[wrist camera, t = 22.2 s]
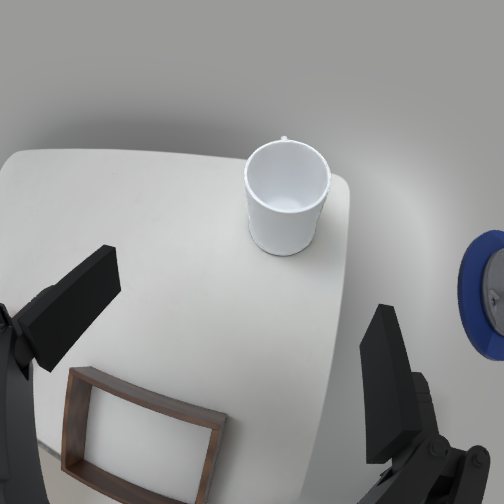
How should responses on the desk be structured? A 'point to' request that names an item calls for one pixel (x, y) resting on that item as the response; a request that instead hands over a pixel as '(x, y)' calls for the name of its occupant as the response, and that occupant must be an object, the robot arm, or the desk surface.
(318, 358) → the desk surface
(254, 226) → the mug
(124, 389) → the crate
